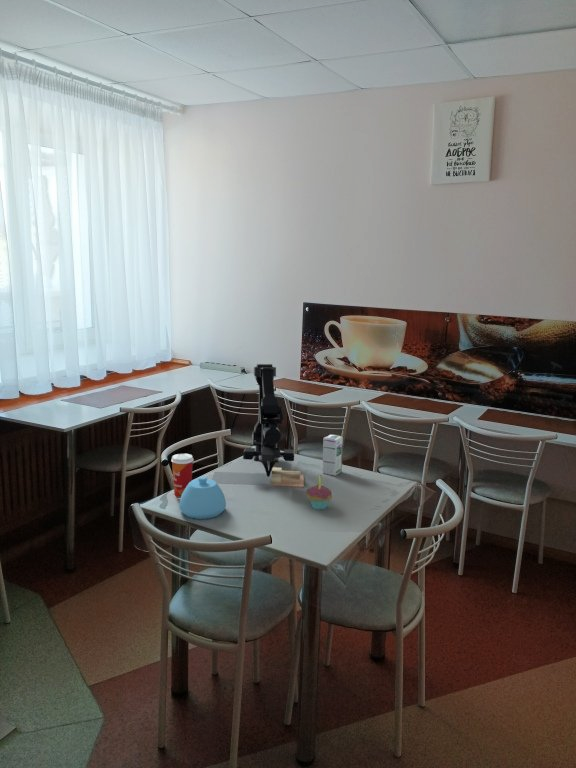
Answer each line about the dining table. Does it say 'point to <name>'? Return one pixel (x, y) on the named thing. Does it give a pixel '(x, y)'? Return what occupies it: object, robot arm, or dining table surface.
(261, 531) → the dining table surface
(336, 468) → the syrup box
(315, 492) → the cupcake
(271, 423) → the robot arm
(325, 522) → the dining table surface
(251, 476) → the push board
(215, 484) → the blue dome lid
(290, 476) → the t block
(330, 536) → the dining table surface
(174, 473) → the paper cup
